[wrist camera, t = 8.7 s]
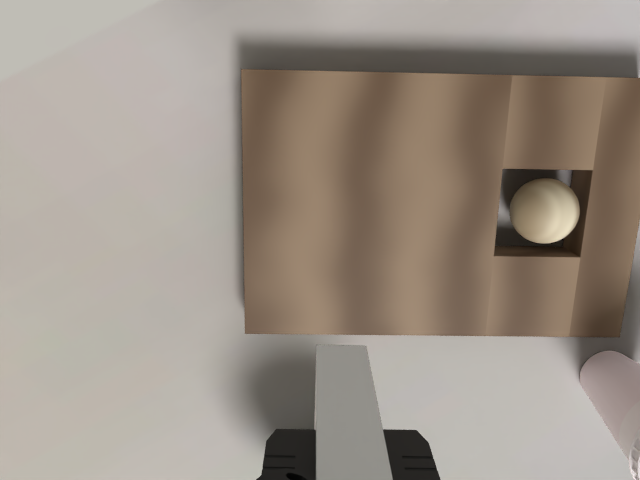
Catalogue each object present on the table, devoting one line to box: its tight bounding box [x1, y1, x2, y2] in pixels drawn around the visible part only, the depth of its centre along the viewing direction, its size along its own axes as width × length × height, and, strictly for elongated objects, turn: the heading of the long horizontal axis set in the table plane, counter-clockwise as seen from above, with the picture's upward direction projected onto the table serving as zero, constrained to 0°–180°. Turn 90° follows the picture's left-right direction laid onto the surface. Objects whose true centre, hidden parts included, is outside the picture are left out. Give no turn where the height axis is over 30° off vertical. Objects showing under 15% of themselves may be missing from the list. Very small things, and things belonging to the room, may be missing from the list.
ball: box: [510, 178, 580, 244], centre depth 35 cm, size 4×4×4 cm
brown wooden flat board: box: [241, 69, 640, 337], centre depth 35 cm, size 24×16×2 cm, turn 89°
